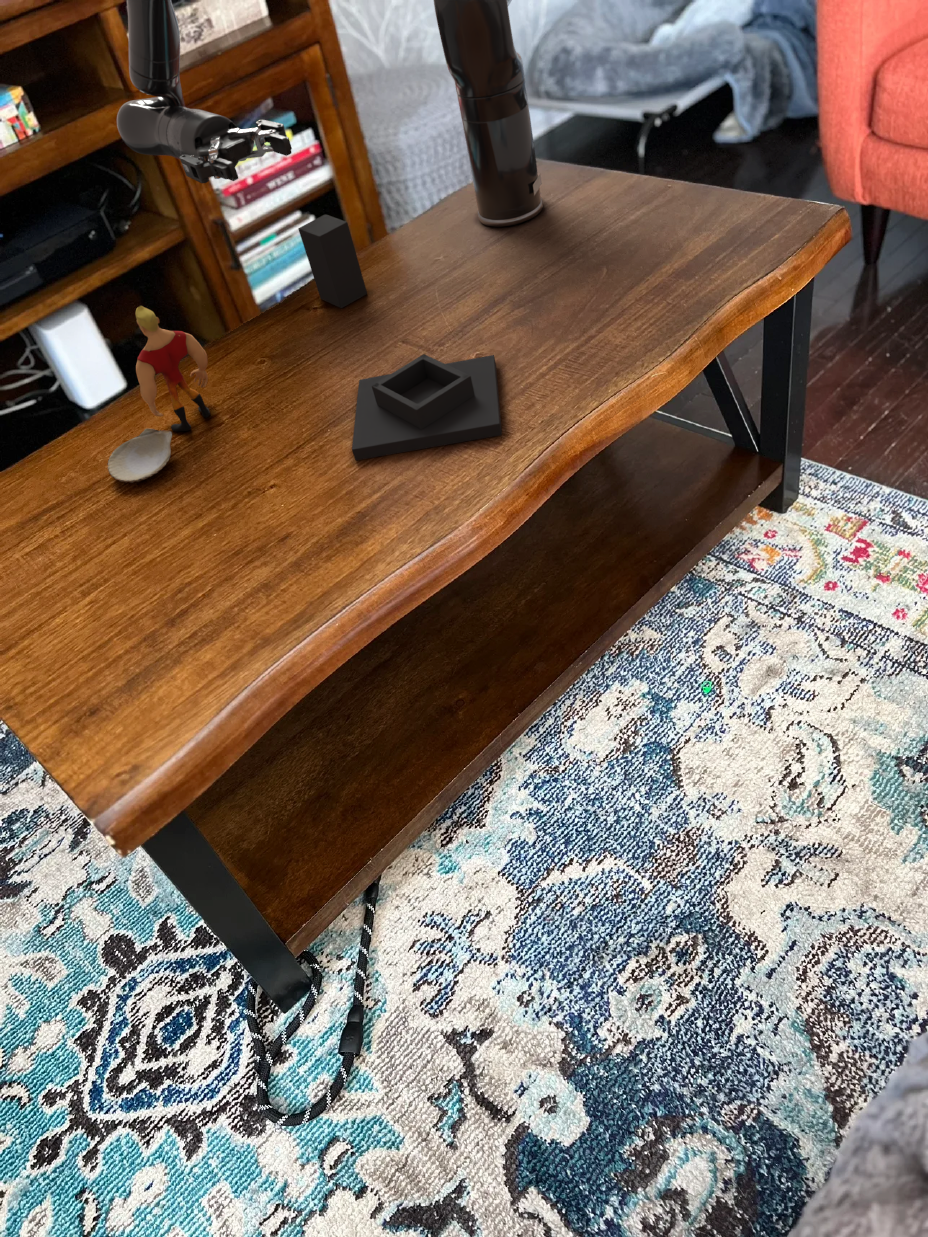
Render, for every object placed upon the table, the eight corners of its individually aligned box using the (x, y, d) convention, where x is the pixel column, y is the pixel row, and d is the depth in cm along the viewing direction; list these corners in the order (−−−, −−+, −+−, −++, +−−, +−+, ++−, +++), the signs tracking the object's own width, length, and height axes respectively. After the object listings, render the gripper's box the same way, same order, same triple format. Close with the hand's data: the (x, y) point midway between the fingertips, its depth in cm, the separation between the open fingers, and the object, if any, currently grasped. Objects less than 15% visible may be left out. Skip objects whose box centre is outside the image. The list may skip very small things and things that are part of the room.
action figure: (214, 397, 119) (164, 283, 108) (231, 403, 117) (183, 289, 106) (154, 438, 114) (96, 325, 104) (171, 446, 112) (114, 331, 102)
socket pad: (362, 390, 113) (353, 360, 110) (496, 365, 111) (490, 334, 108) (355, 460, 103) (345, 430, 100) (502, 435, 101) (495, 403, 98)
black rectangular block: (320, 298, 132) (297, 228, 125) (346, 284, 133) (325, 213, 126) (341, 308, 129) (319, 236, 122) (367, 293, 130) (347, 221, 123)
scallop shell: (113, 492, 111) (151, 493, 106) (94, 473, 109) (132, 473, 104) (154, 441, 115) (193, 439, 110) (136, 422, 113) (175, 420, 108)
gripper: (149, 131, 131) (205, 150, 121) (236, 93, 136) (296, 108, 126) (171, 186, 137) (226, 209, 126) (254, 148, 142) (313, 166, 132)
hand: (261, 159), depth 126 cm, fingers open, 8 cm apart
